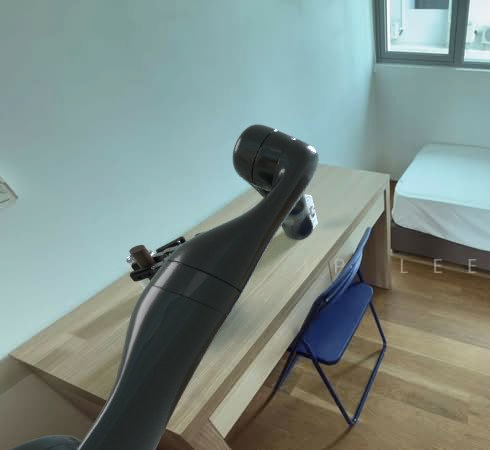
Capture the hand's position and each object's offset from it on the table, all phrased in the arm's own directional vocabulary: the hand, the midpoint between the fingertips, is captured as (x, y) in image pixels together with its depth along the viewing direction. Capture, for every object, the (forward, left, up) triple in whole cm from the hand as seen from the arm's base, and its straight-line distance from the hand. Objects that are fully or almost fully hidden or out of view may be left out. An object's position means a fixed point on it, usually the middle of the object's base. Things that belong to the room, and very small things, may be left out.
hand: (132, 272), depth 63 cm
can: (+16, +14, -21) cm, 30 cm away
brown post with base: (+2, -3, -10) cm, 10 cm away
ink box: (+44, -21, -21) cm, 53 cm away
